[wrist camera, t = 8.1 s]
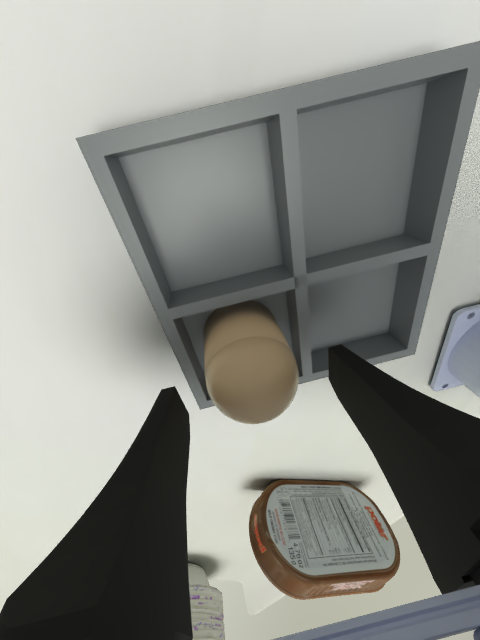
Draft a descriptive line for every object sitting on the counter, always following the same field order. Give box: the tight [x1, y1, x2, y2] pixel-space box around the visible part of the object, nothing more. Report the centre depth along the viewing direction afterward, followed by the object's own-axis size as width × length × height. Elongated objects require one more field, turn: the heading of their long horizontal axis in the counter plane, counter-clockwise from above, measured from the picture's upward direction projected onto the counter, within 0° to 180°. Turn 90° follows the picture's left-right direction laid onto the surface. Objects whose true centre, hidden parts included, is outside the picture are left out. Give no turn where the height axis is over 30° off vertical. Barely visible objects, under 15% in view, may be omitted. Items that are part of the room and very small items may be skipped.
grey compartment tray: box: [76, 41, 480, 410], centre depth 13 cm, size 14×14×2 cm
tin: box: [249, 479, 400, 600], centre depth 24 cm, size 15×3×8 cm, turn 70°
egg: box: [203, 300, 299, 424], centre depth 12 cm, size 4×4×6 cm
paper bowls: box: [188, 563, 225, 640], centre depth 33 cm, size 15×15×8 cm
